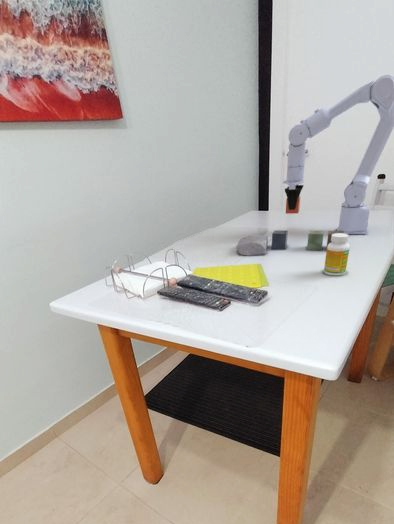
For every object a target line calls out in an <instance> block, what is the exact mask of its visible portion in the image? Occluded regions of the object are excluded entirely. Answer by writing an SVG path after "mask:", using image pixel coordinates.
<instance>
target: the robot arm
mask: <svg viewBox="0 0 394 524" xmlns="http://www.w3.org/2000/svg"><path fill="white" fill-rule="evenodd" d="M369 102H371V103H372V105H373V106H374V107H375V108H376V110H377V112H378V115H379V120H378V123H377V125H376V127H375V130H374V132H373V134H372V136H371V139H370V141H369V143H368V145H367V148H366V149H365V152H364V154H363V157H362V159H361V161H360V163H359V166H358V167H357V170H356V173H354V176H353V178H352V180H351V182H350V183H349V184H348V185H347V186H346V187H345V189H344V192H343V196H344V201H343V203H341V208H340V214H339V215H340V216H339V219H338V220H339V221H338V227H336V231H344V234H348V235H366V234H367V229H368V226H369V217H370V210H371V205H366V204H365V202H364V201H365V199H366V196H367V194H366V193H367V192H366V191H367V188H368V186H369V183H370V179H371V176H372V175H373V172H374V170H375V168H376V166H377V163H378V161H379V160H380V157H381V155H382V153H383V151H384V149H385V147H386V144H387V142H388V141H389V138H390V136H391V134H392V131H393V130H394V76H393V75H391V74H384V75H381V76H379V77H378V78H377V79H375V80H372V81H369V82H368V83H366V84H364V85H362V86H360V87H359V88H357V89H356V90H354V91H353V92H351V93H350V94H349V95H348V96H346V97H344V98H343V99H342V100H340V101H339V102H337V103H336V104H334V105H333V106H331V107H329V109H327V108H324V107H323V108H320V109H319V108H317V109H315V110H314V111H313V112H314V113H313V114H311V115H310V116H308V117H307V118H305V119H302V120H300V121H299V123H300V124H295V125H294V126H293V127H292V128H291V129H290V131H289V132H288V133H289V134H288V141H289V144H288V152H287V167H286V180H283V181H282V184H286V185H288V186H287V187H286V188H284V193H285V195H286V199H288V207H289V210H295V208H296V204H297V199H298V197H301V196H300V195H301V192H302V191H303V188H304V183H305V179H304V177H305V176H304V174H305V163H306V152H307V151H306V141H307V139H312V138H314V137H315V136H317V135H318V134H320V133H321V132H323V131H325V130H327V128H329V127H330V125H331V123H332V120H333V119H336V117H338V116H340V115H342V114H343V113H344V112H347V111H348V110H350V109H351V108H353V107H354V106H356V105H358V104H367V103H369Z"/></svg>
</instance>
